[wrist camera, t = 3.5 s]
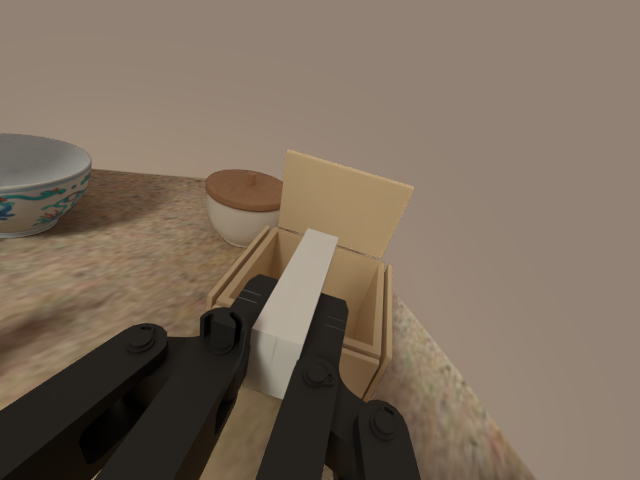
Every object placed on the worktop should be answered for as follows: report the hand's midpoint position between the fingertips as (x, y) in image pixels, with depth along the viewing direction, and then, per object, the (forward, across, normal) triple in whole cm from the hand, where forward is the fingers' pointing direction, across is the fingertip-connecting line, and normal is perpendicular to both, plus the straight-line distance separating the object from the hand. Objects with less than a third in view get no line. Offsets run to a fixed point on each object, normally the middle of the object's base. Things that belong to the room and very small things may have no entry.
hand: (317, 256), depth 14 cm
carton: (+9, 0, -15) cm, 17 cm away
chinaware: (+11, -35, -15) cm, 39 cm away
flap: (+15, 0, -8) cm, 16 cm away
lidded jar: (+23, -12, -15) cm, 30 cm away
